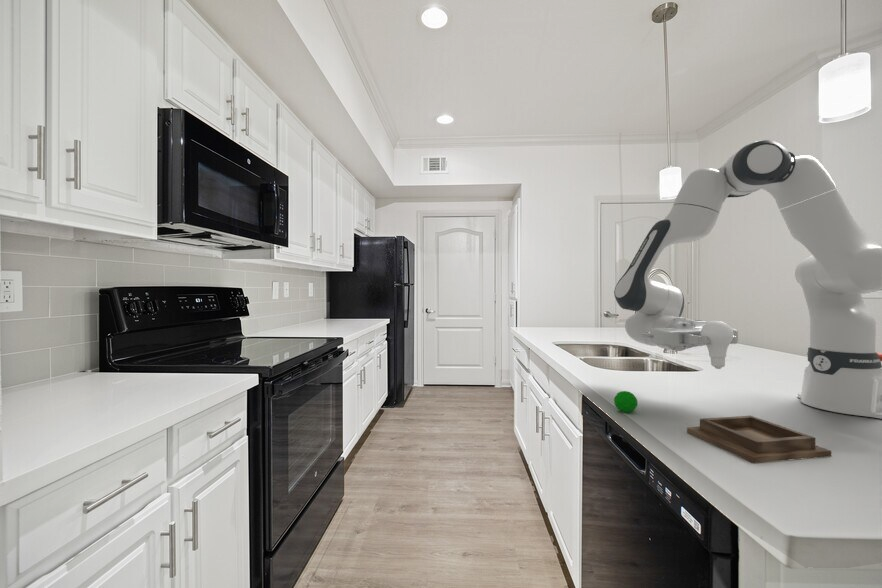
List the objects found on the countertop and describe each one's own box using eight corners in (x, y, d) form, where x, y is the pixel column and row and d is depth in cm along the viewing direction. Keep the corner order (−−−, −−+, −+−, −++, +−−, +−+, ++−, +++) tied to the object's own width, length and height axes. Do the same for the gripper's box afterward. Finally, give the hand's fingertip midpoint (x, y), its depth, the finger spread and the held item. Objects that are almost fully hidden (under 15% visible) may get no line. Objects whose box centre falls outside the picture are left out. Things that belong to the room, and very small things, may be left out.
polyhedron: (609, 410, 92) (609, 391, 92) (621, 407, 95) (621, 388, 95) (629, 416, 88) (630, 396, 88) (641, 412, 91) (641, 392, 91)
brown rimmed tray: (753, 427, 81) (754, 413, 81) (831, 456, 67) (831, 439, 67) (687, 432, 78) (687, 417, 78) (753, 463, 64) (753, 445, 64)
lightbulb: (724, 366, 90) (722, 319, 90) (741, 371, 84) (739, 320, 84) (696, 366, 90) (694, 320, 91) (711, 371, 84) (709, 321, 85)
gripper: (638, 322, 98) (680, 327, 85) (708, 320, 101) (759, 325, 88) (638, 346, 98) (680, 356, 85) (708, 344, 102) (759, 353, 88)
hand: (721, 340), depth 86 cm, fingers closed on lightbulb, 5 cm apart
